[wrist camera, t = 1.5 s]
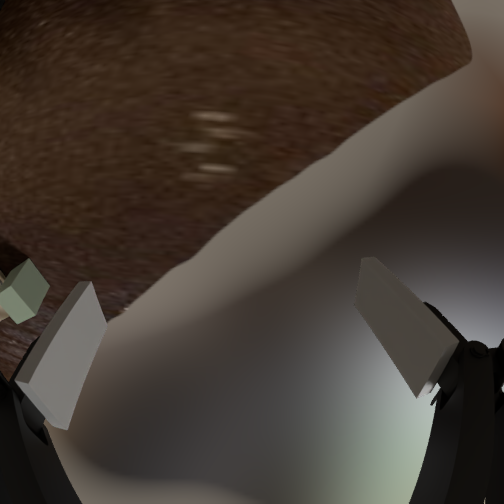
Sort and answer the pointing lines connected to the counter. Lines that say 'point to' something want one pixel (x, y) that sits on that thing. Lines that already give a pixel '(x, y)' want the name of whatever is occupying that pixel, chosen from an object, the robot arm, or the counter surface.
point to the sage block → (23, 291)
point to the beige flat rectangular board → (0, 312)
